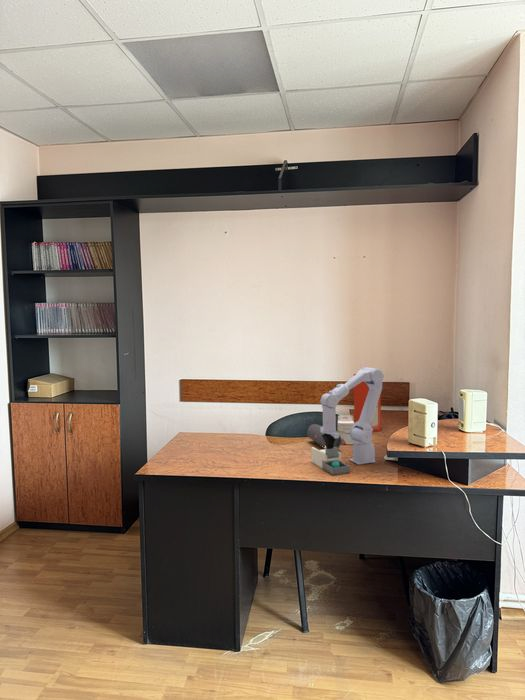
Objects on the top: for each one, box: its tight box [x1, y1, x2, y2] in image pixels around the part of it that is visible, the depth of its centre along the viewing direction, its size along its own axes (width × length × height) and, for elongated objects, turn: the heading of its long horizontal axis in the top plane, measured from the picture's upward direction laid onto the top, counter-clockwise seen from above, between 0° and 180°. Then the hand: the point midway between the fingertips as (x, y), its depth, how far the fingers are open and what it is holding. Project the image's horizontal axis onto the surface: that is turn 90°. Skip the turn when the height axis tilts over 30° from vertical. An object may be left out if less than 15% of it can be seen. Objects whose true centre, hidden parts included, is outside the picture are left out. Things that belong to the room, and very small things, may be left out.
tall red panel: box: [353, 373, 382, 433], centre depth 285 cm, size 8×17×32 cm, turn 19°
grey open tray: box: [323, 460, 351, 476], centre depth 210 cm, size 8×8×3 cm
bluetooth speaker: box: [306, 423, 342, 449], centre depth 250 cm, size 23×9×10 cm, turn 21°
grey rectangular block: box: [324, 447, 339, 458], centre depth 214 cm, size 5×2×4 cm, turn 110°
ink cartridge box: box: [336, 414, 354, 445], centre depth 254 cm, size 9×5×15 cm, turn 84°
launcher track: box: [310, 446, 342, 469], centre depth 219 cm, size 8×14×7 cm, turn 20°
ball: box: [332, 461, 340, 468], centre depth 211 cm, size 4×4×4 cm
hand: (329, 450), depth 216 cm, fingers closed
